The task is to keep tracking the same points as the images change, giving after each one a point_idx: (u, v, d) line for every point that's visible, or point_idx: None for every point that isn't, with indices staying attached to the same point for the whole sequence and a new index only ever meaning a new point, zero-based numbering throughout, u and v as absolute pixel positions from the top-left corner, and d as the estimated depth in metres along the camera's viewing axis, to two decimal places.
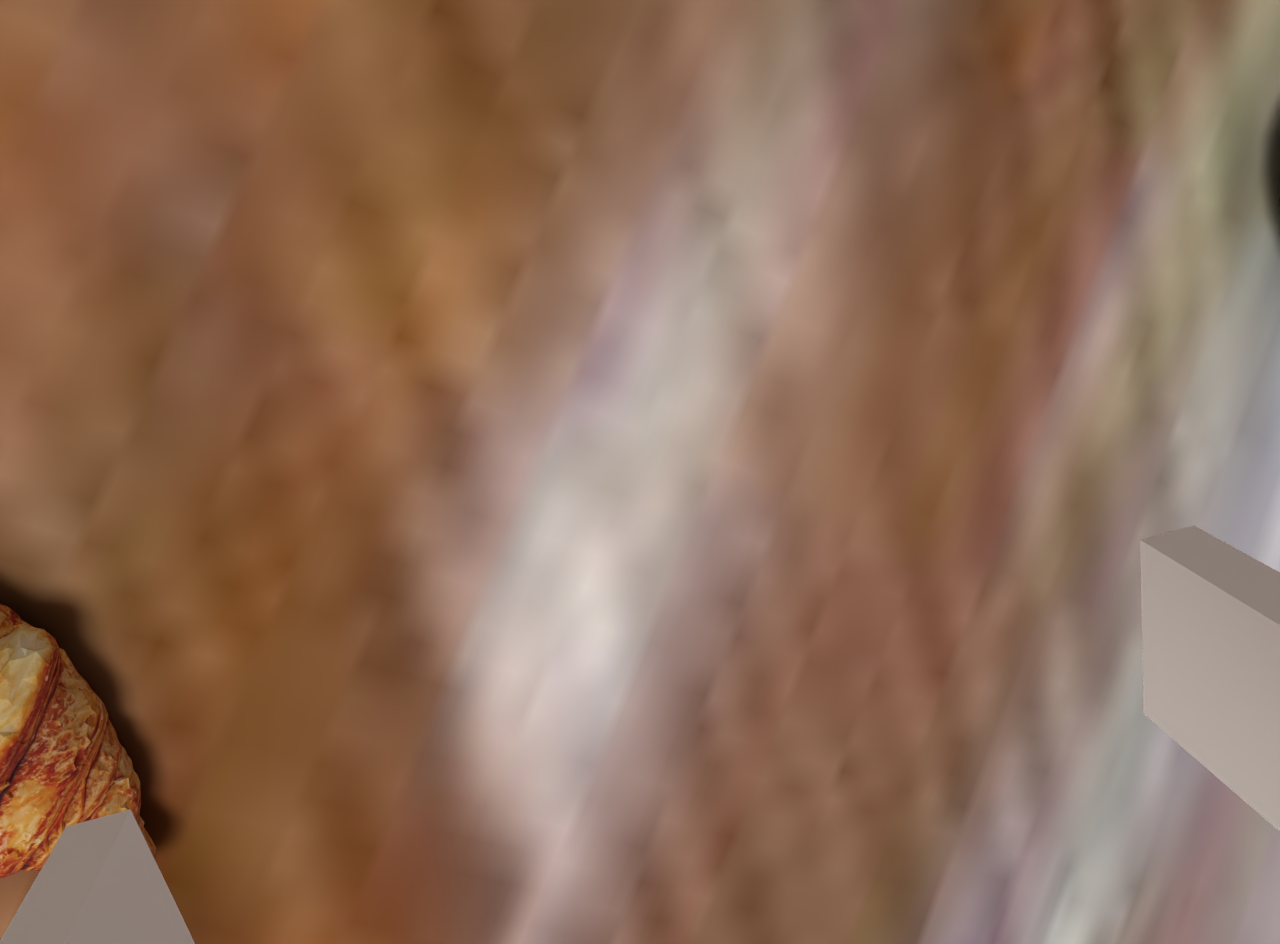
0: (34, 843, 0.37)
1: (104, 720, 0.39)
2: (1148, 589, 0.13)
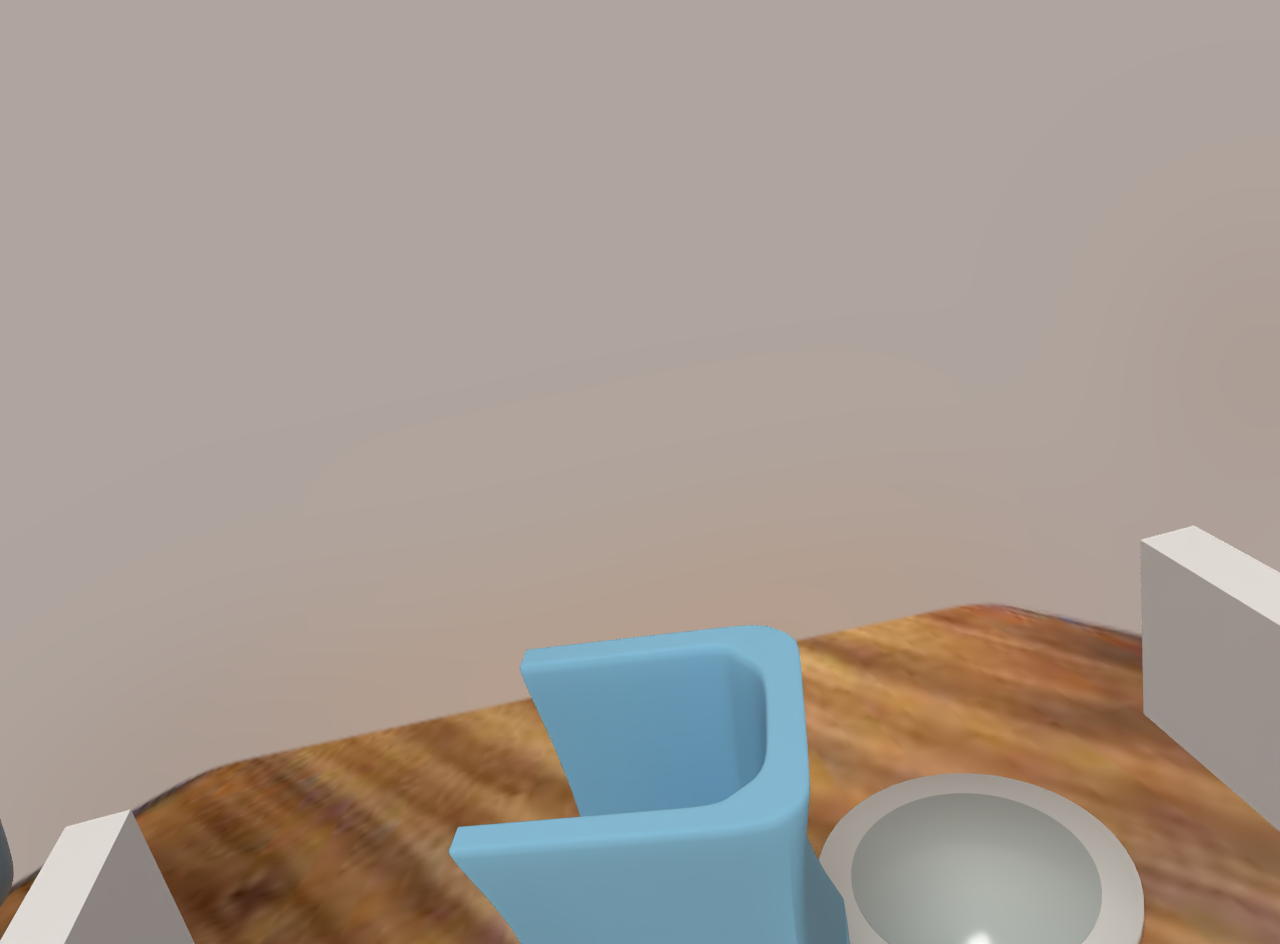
0: None
1: None
2: (1148, 589, 0.13)
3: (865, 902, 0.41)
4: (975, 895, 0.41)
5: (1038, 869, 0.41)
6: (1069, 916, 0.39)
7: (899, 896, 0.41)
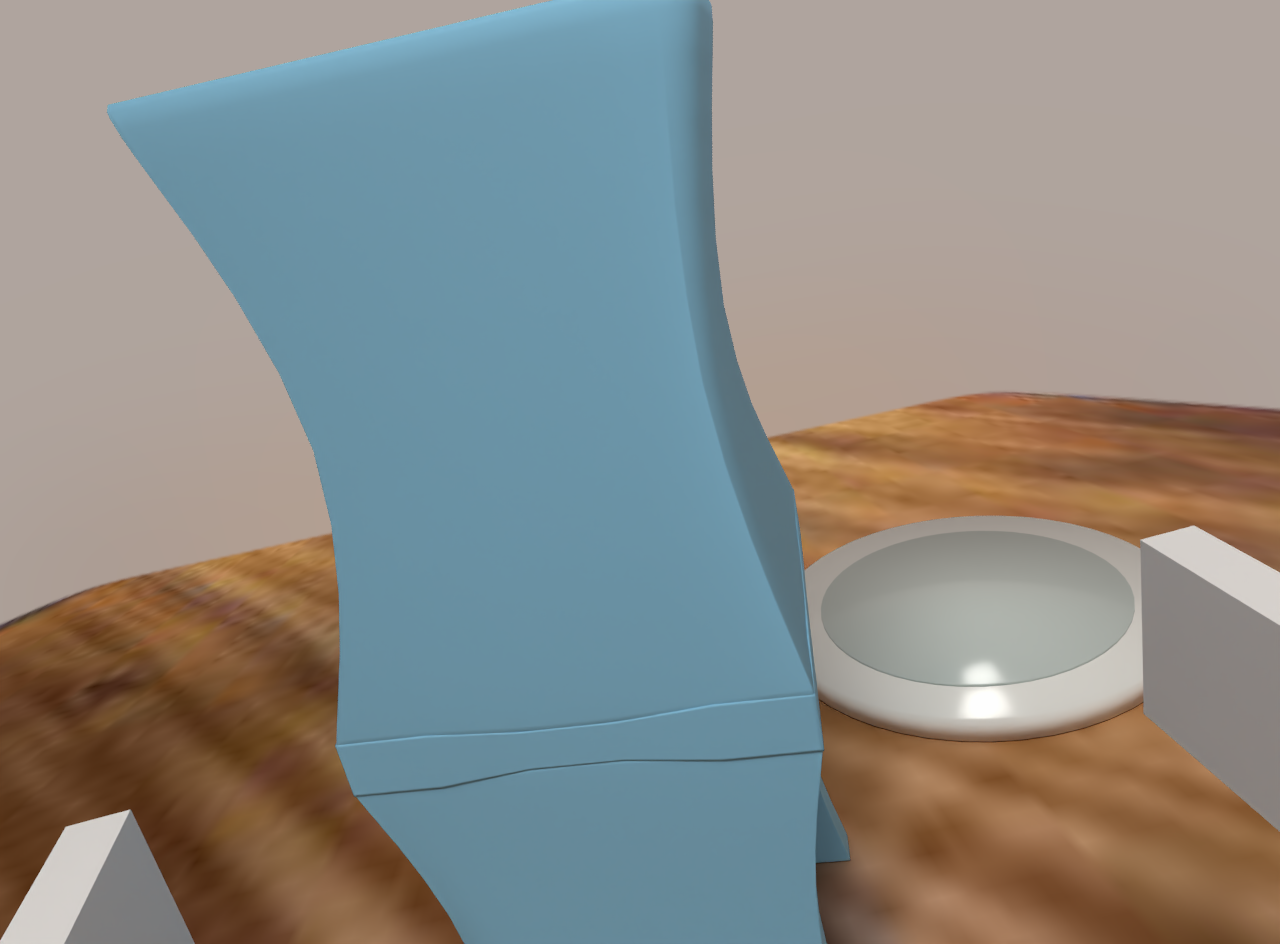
0: None
1: None
2: (1148, 589, 0.13)
3: (837, 631, 0.33)
4: (975, 615, 0.32)
5: (1053, 587, 0.33)
6: (1094, 625, 0.31)
7: (879, 624, 0.33)
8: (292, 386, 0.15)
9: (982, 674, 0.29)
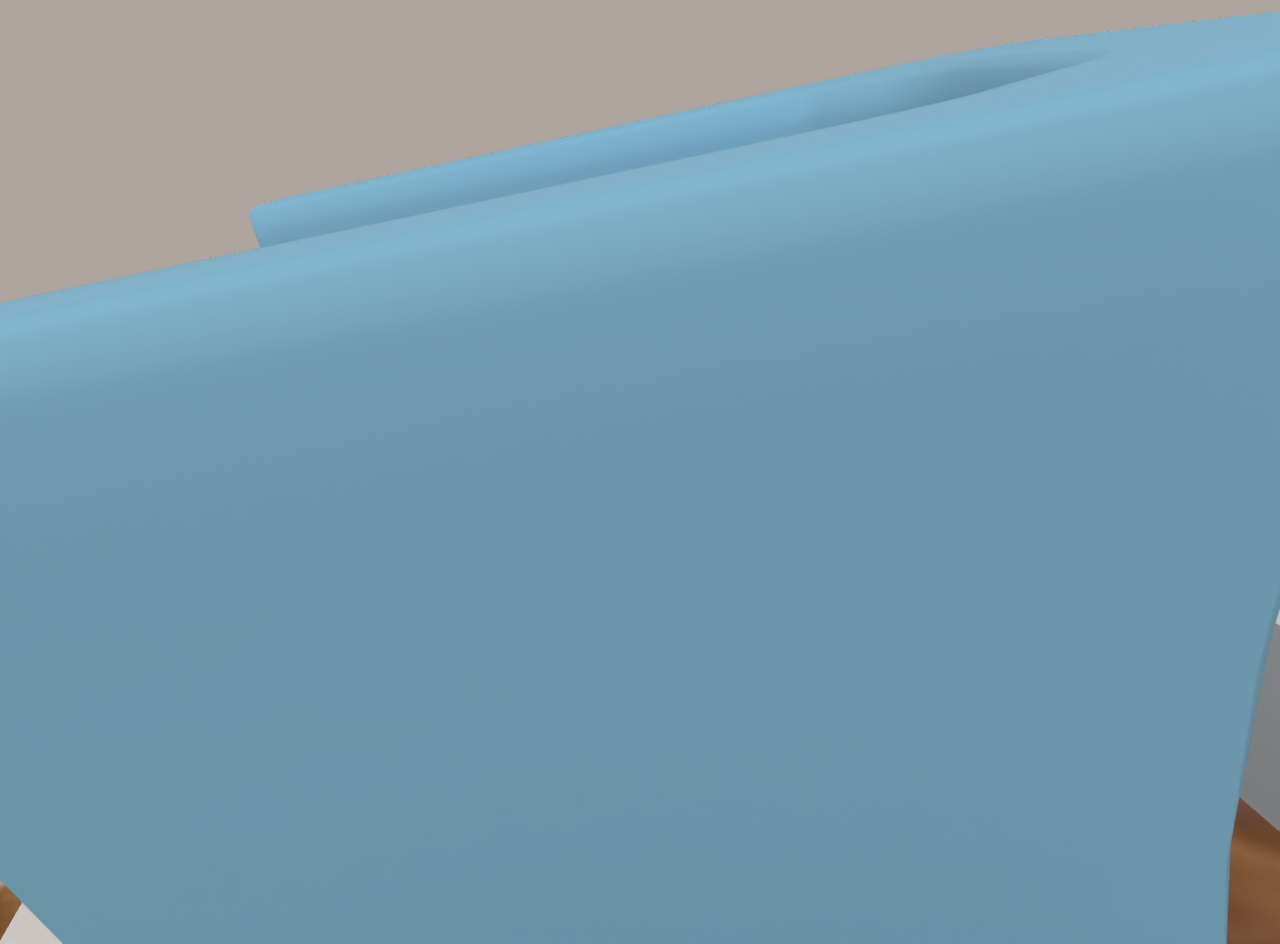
0: None
1: None
2: None
3: None
4: None
5: None
6: None
7: None
8: None
9: None
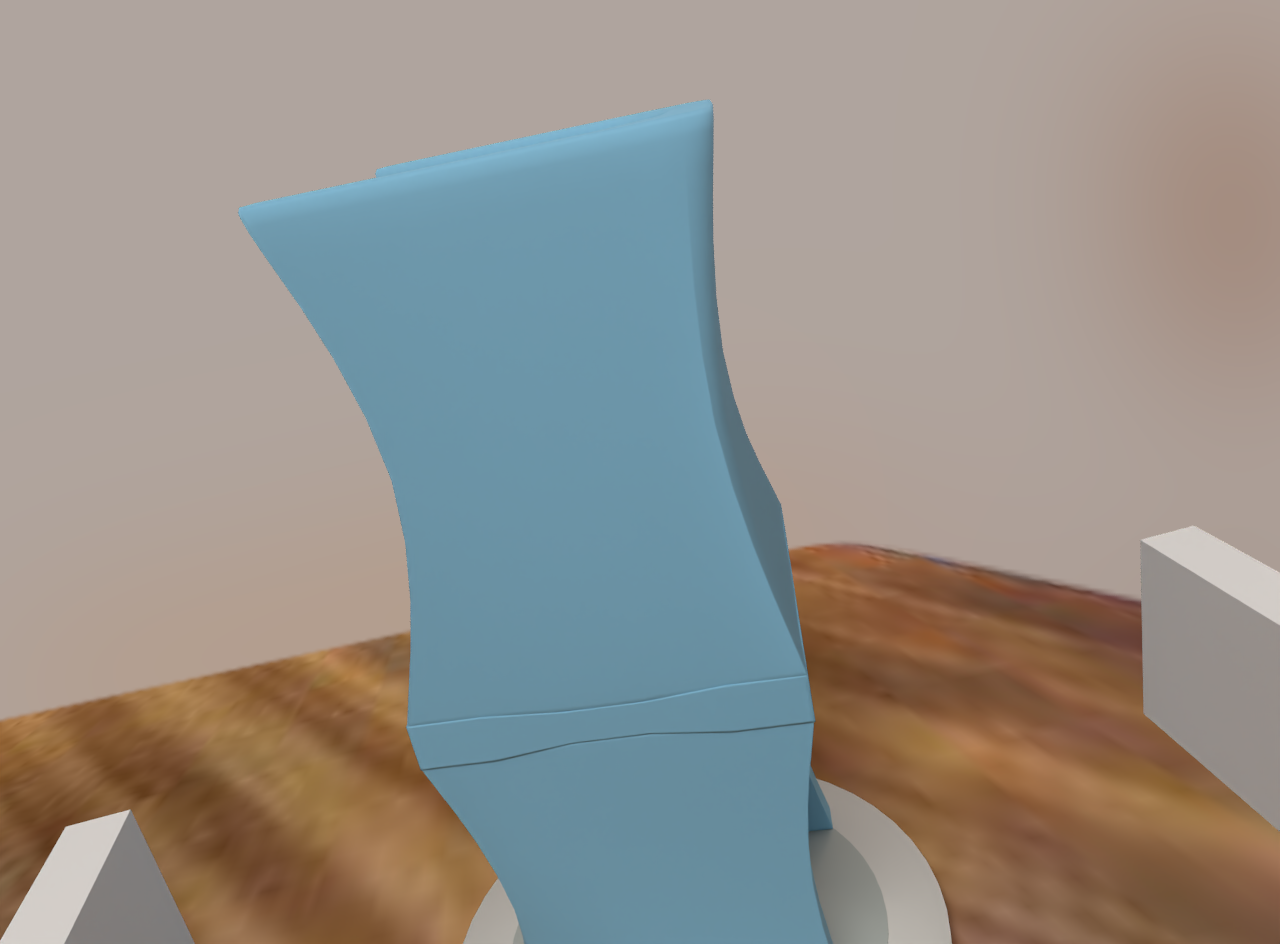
0: None
1: None
2: (1148, 589, 0.13)
3: None
4: None
5: None
6: None
7: None
8: (376, 428, 0.18)
9: None
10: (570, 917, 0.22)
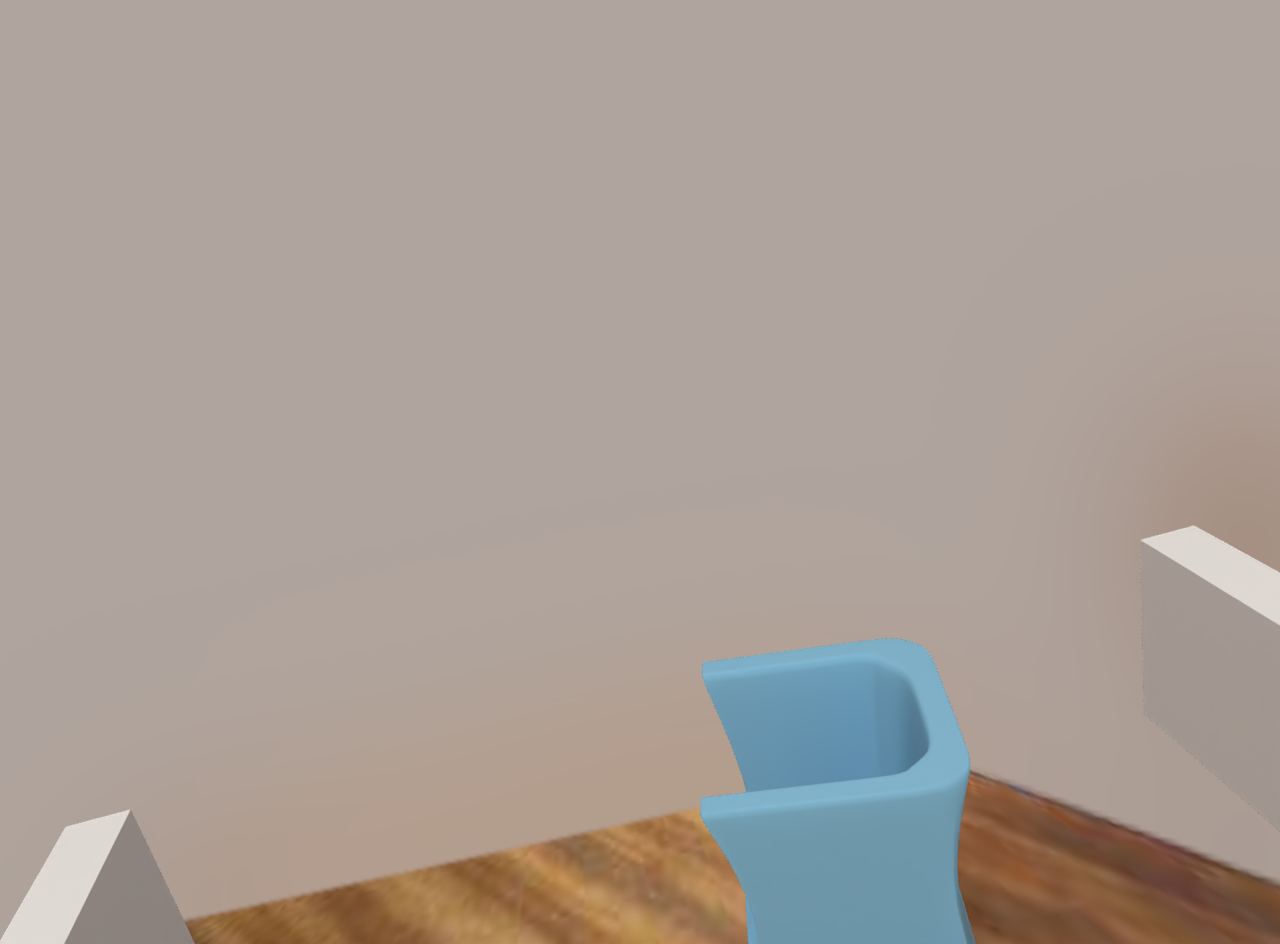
0: None
1: None
2: (1148, 589, 0.13)
3: None
4: None
5: None
6: None
7: None
8: (752, 904, 0.30)
9: None
10: None
